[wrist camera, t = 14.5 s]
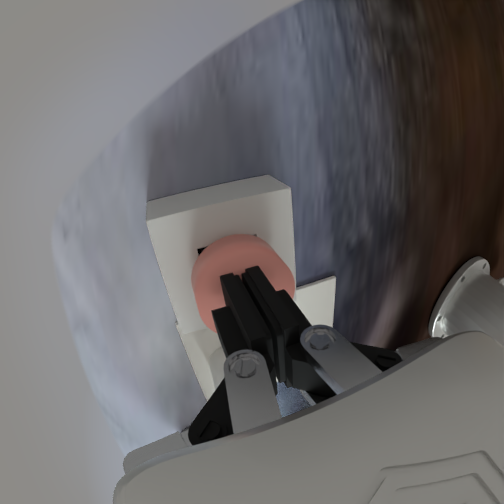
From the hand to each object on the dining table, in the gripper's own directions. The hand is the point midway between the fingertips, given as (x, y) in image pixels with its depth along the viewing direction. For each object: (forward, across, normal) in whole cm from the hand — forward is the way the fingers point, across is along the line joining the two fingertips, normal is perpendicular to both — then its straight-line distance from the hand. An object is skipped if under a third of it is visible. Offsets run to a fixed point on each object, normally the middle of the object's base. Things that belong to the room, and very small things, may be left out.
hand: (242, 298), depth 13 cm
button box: (+6, 0, 0) cm, 6 cm away
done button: (+5, 0, 0) cm, 5 cm away
